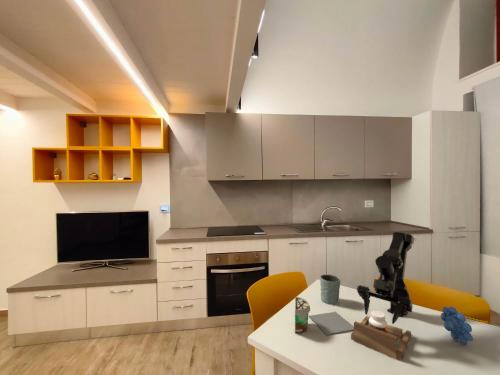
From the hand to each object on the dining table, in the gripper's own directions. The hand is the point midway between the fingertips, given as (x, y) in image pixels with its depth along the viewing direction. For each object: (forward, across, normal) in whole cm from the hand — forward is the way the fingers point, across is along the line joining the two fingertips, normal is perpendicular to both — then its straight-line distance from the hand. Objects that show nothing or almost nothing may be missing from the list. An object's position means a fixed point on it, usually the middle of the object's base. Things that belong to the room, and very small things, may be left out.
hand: (378, 318), depth 90 cm
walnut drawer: (+4, 0, +8) cm, 9 cm away
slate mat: (+6, -18, +6) cm, 20 cm away
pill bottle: (+7, 0, +6) cm, 9 cm away
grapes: (-9, +20, +21) cm, 31 cm away
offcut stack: (0, 0, +13) cm, 13 cm away
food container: (+15, -26, -2) cm, 30 cm away
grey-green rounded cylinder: (-7, -28, +20) cm, 35 cm away
